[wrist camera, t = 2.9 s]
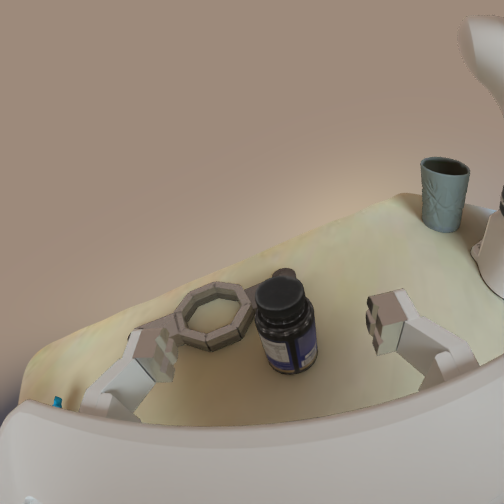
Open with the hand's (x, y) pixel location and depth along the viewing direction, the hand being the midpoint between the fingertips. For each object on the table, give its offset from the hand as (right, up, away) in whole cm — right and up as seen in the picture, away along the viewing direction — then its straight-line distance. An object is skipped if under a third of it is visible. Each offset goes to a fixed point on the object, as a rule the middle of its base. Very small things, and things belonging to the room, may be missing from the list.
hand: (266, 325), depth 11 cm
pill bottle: (+4, -10, +22) cm, 24 cm away
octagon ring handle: (-6, -7, +29) cm, 31 cm away
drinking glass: (+37, +9, +36) cm, 52 cm away
